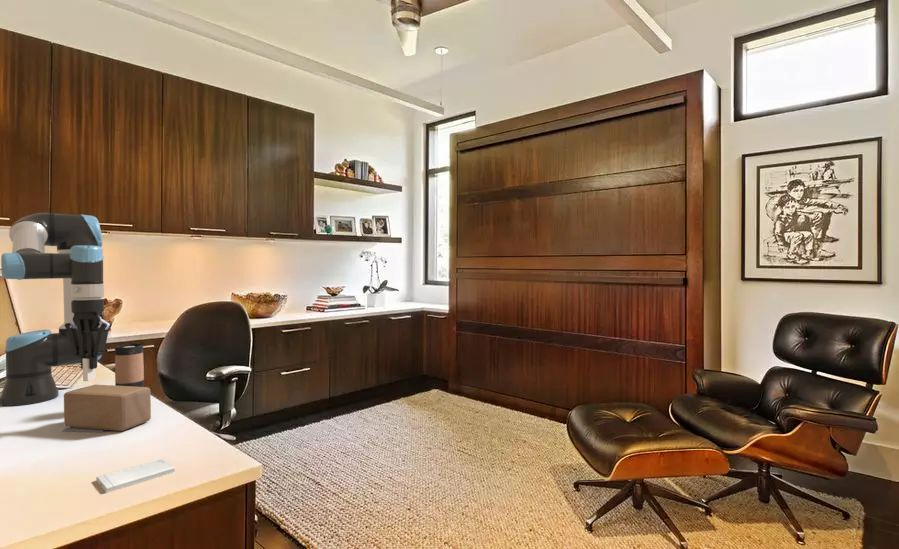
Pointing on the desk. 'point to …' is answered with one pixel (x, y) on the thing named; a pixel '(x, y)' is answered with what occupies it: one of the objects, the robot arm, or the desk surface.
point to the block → (107, 407)
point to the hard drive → (134, 475)
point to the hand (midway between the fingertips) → (89, 380)
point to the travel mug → (129, 365)
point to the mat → (83, 429)
